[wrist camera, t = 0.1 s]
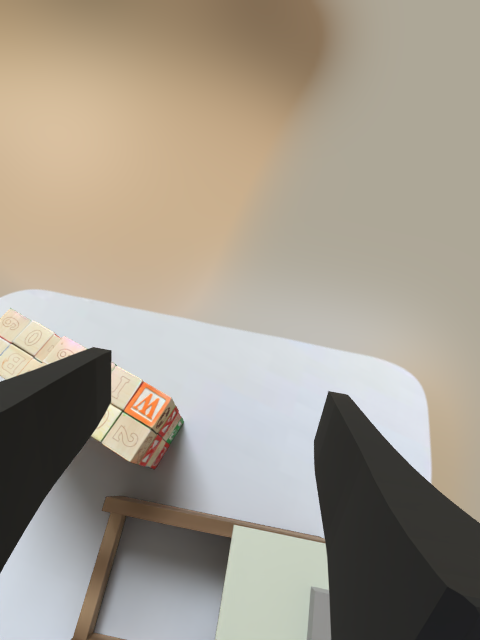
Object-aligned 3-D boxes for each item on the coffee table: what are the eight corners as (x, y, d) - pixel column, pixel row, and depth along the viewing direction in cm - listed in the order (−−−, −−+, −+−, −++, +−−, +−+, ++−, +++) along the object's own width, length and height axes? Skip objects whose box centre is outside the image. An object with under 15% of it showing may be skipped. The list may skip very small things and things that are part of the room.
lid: (318, 734, 27) (326, 755, 25) (203, 708, 27) (201, 726, 25) (329, 544, 32) (336, 548, 30) (233, 524, 33) (234, 527, 31)
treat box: (308, 698, 32) (323, 735, 27) (76, 645, 33) (51, 672, 28) (319, 536, 38) (333, 543, 33) (120, 495, 38) (106, 496, 34)
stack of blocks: (14, 378, 44) (-58, 341, 33) (49, 338, 46) (-6, 291, 35) (155, 470, 40) (129, 463, 29) (186, 421, 42) (172, 397, 31)
